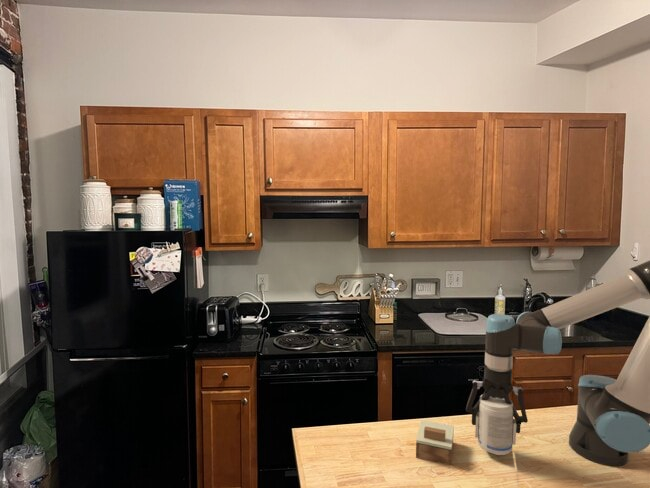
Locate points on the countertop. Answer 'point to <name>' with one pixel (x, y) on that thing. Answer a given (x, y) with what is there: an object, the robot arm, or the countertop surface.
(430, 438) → the lid
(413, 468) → the countertop surface
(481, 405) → the supplement tub
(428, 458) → the box
